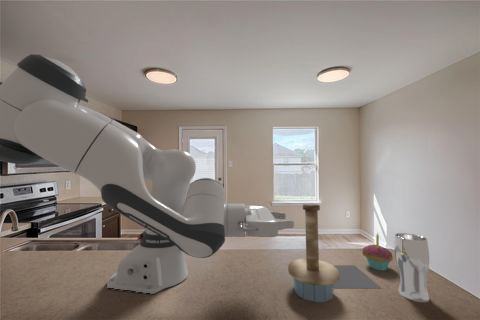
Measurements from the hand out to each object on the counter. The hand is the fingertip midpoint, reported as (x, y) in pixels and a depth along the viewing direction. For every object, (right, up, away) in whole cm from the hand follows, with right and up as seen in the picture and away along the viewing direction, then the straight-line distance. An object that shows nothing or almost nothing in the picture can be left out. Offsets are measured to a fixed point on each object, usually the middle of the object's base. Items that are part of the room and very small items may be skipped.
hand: (288, 219), depth 58 cm
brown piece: (+6, -14, -1) cm, 15 cm away
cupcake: (+32, -20, +12) cm, 40 cm away
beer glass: (+31, -19, -4) cm, 37 cm away
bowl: (+6, -19, -2) cm, 20 cm away
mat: (+18, -19, +6) cm, 27 cm away
